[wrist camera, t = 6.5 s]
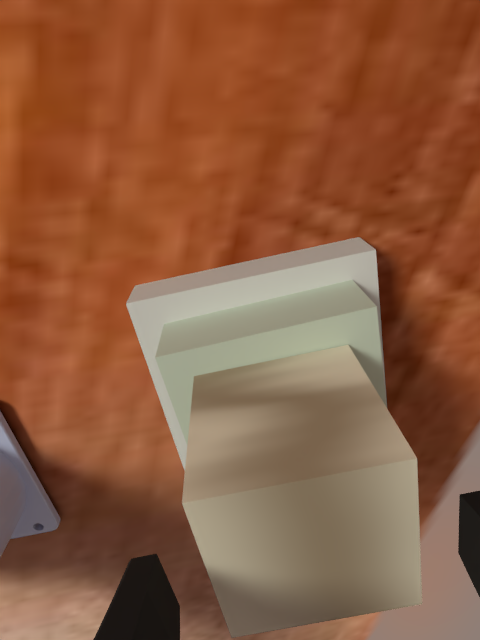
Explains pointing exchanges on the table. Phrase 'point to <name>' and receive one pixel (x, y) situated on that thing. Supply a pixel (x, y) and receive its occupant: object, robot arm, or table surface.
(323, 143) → the table surface
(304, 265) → the tower base
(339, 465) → the maple cube
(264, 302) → the tower top
